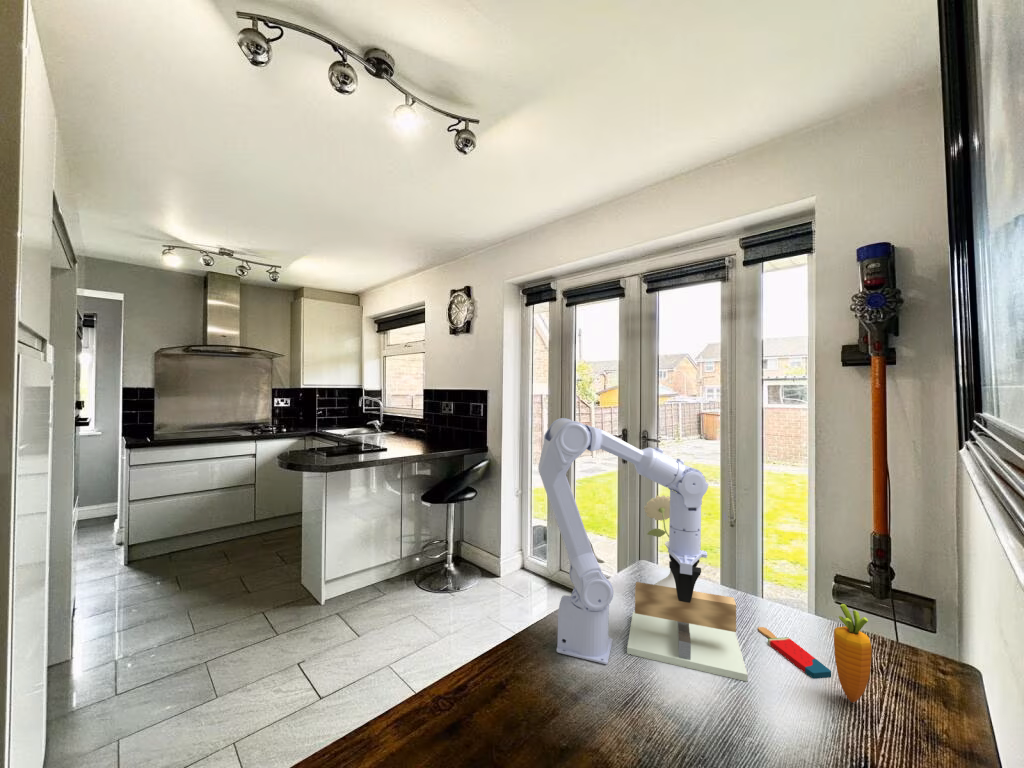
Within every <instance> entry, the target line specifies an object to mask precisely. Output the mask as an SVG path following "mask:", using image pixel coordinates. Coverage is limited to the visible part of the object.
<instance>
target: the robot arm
mask: <svg viewBox="0 0 1024 768" xmlns="http://www.w3.org/2000/svg"><path fill="white" fill-rule="evenodd" d="M586 450H587V451H589V452H594V451H599V450H603V451H605V452H607V453H609V454H612V455H613V456H616V457H618V458H620V459H622V460H625V461H627V462H628V463H631V464H633V465H634V468H635V471H636V473H637V474H638V475H639V476H643V478H646V479H648V480H650V481H652V482H654V483H656V484H658V485H661V486H663V487H665V488H667V489H668V490H669V497H670V518H669V529H668V530H669V531H668V532H669V533H668V535H669V537H668V541H669V547H668V548H667V552H668V557H669V559H670V560H671V561H668V568H669V569H670V570H671V572H672V574H673V576H674V579H675V584H676V590H677V596H678V600H679V601H682V602H687V603H690V602H691V599H692V594H693V590H694V589H695V585H696V583H697V580H698V578H699V577H700V576H701V573H702V567H697V566H698V564H699V563H700V559H701V558H703V559H704V558H705V559H706V558H708V552H707V550H701V548H702V546H701V544H702V541H701V539H702V538H701V537H702V534H701V533H702V505H703V497H704V495H705V494H706V493H707V491H708V489H709V483H707V482H706V477H705V476H704V474H703V473H702V471H700V470H699V469H697V468H694V467H691V466H688V465H686V464H685V461H684V460H683V459H680V458H677V459H675V458H673V457H671V456H669V455H667V454H665V453H664V450H663V449H662V448H659V447H657V446H655V447H654V448H653V447H650V446H649V447H645V448H643V449H640V448H639V447H636V446H634V445H633V444H631V443H628V442H626V441H624V440H622V439H621V438H619V437H618V436H615V435H614V434H611V433H609V432H608V431H605V430H603V429H602V428H598V427H596V426H595V427H594V426H591V425H587V424H585V423H582V422H579V421H576V420H574V421H573V420H572V419H570V418H566V417H561V418H557V419H555V420H554V421H553V422H552V423H551V424H550V426H549V427H548V429H547V430H546V432H545V433H544V435H543V444H542V449H541V453H540V457H539V458H540V459H539V463H538V467H537V468H538V473H539V476H540V479H541V481H542V485H543V487H544V490H545V493H546V495H547V496H546V497H547V499H548V503H549V504H550V508H551V510H552V513H553V515H554V518H555V521H556V525H557V527H558V530H559V533H560V536H561V539H562V541H563V543H564V546H565V550H566V553H567V559H568V562H569V571H568V573H569V575H568V576H569V579H570V581H571V583H572V584H573V586H574V588H573V590H572V591H571V595H566V594H565V595H562V596H561V599H560V602H559V605H558V612H557V614H558V615H557V647H556V652H557V654H558V653H559V654H562V655H566V656H571V657H575V658H579V659H583V660H587V661H591V662H596V663H599V664H602V665H603V664H604V665H608V663H609V660H610V656H611V655H610V654H611V650H612V646H613V642H614V641H613V638H611V637H609V632H610V631H609V628H610V626H609V625H610V623H609V622H610V617H609V615H610V604H611V603H612V601H613V598H614V587H613V585H612V583H611V581H610V579H608V578H607V577H606V575H605V574H604V573H603V572H602V568H601V566H600V564H599V562H598V560H597V557H596V556H595V553H594V552H593V549H592V546H591V542H590V539H589V537H588V534H587V531H586V529H585V525H584V522H583V520H582V517H581V514H580V511H579V508H578V506H577V503H576V499H575V496H574V493H573V491H572V488H571V486H570V483H569V480H568V476H567V472H568V471H569V469H570V467H571V466H572V464H573V462H574V461H575V460H576V459H577V458H580V456H582V455H583V453H585V451H586ZM670 570H669V571H670Z"/></svg>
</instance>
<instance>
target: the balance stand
mask: <svg viewBox="0 0 1024 768" xmlns="http://www.w3.org/2000/svg"><path fill="white" fill-rule="evenodd" d="M626 654H627V655H630V654H631V655H630V656H635V657H638V658H643V659H649V660H653V661H657V662H661V663H666V664H668V665H675V666H678V667H682V668H687V669H691V670H695V671H700V672H704V673H709V674H712V675H713V674H714V675H717V676H722V677H727V678H731V679H733V680H734V679H735V680H739V681H743V682H746V683H747V682H748V677H749V676H748V672H747V671H748V670H747V667H746V665H745V662H744V661H745V660H744V658H743V654H742V649H741V648H740V643H739V640H738V636H737V632H732V631H727V630H721V629H716V628H711V627H705V626H700V625H695V624H689V623H684V622H679V621H673V620H668V619H663V618H657V617H652V616H647V615H641V614H636V613H635V610H634V611H632V616H631V623H630V628H629V636H628V641H627V647H626Z"/></svg>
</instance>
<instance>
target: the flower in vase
mask: <svg viewBox="0 0 1024 768" xmlns="http://www.w3.org/2000/svg"><path fill="white" fill-rule="evenodd" d="M643 509H644V512H645V513H646V516H647V517H648V518H650V519H654V521H662V523H663V528H664V530H663V529H661V528H658V527H657V528H652V529H650V530H649V531H648V532H647V533H646V535H649V536H652V537H656V538H661V537H663V536H664V535H665V534H666V535H667V537H668V538H669V533H668V531H667V529H666V522H665V520H668V519H670V495H669V496H666V495H661V496H660V495H656V496H655V497H651V498H650V499H649V500H648V501H647V502H646V505H644V507H643ZM664 545H665V547H666V548H667V549H668V547H669V540H668V541H665V542H664ZM670 561H671V560H670ZM653 585H659V586H665V587H671V588H676V584H675V579H674V576H673V574H672V572H671V570H669V573H668V575H667V576H666V577H665V578H663V579H661V580H659V581H657V582H655V584H653ZM693 591H696V592H697V590H696V589H695V588H694V590H693Z"/></svg>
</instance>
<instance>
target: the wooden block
mask: <svg viewBox="0 0 1024 768" xmlns="http://www.w3.org/2000/svg"><path fill="white" fill-rule="evenodd" d="M736 603H737V602H736V601H735V597H731V596H726V595H719V594H714V593H708V592H702V591H701V592H699V591H697V590H696V591H693V594H692V599H691V602H690V603H687V602H682V601H679V600H678V596H677V590H676V588H671V587H665V586H659V585H654V584H652V583H647V582H639V581H636V582H635V587H634V612H635V613H636V614H641V615H647V616H652V617H657V618H663V619H668V620H673V621H679V622H684V623H689V624H695V625H700V626H705V627H711V628H716V629H721V630H727V631H732V632H735V633H737V604H736Z"/></svg>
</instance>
